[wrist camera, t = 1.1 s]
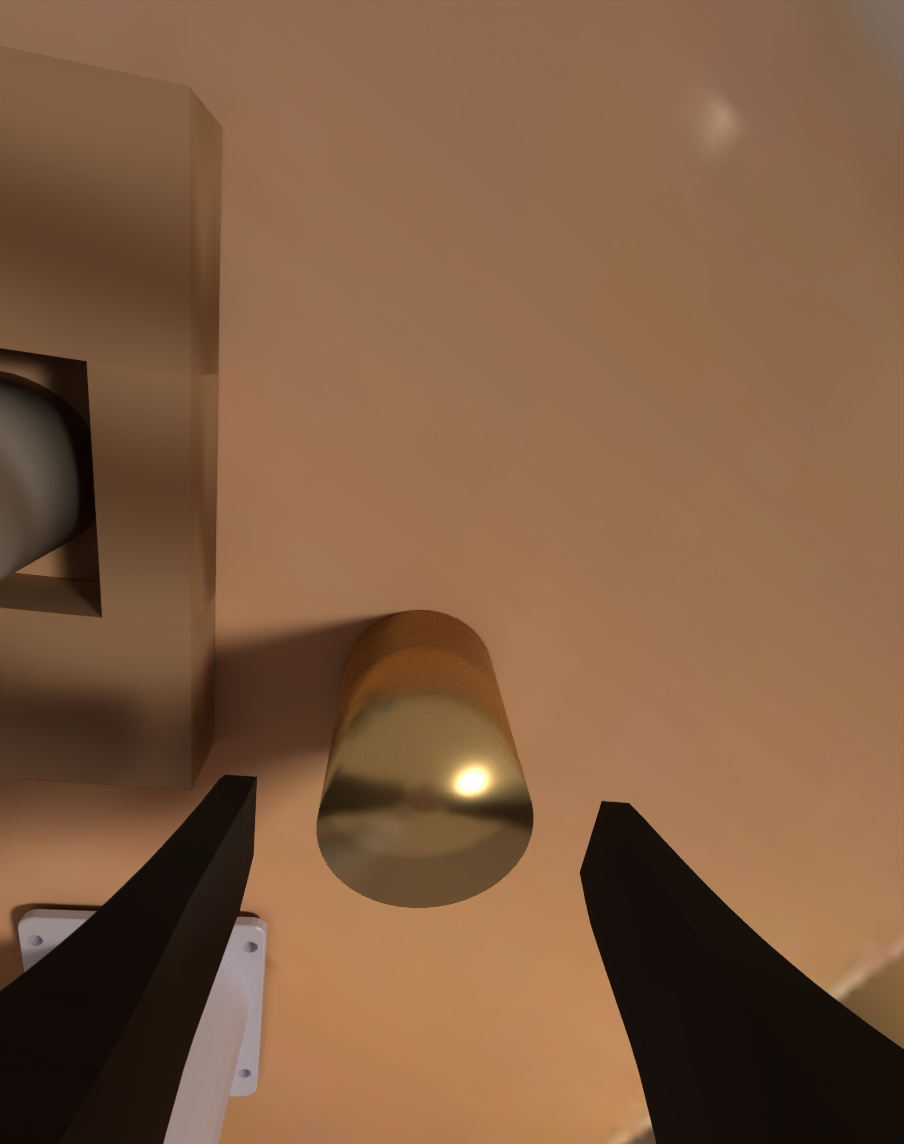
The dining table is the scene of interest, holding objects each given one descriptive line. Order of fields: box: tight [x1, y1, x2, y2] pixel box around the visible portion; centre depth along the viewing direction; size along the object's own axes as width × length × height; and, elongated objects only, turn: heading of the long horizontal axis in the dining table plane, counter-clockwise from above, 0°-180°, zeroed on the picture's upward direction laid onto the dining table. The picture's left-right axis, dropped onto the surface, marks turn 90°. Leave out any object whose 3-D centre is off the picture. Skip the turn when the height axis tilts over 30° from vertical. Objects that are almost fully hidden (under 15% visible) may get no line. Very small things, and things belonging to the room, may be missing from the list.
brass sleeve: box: [317, 610, 533, 908], centre depth 15 cm, size 4×4×6 cm
